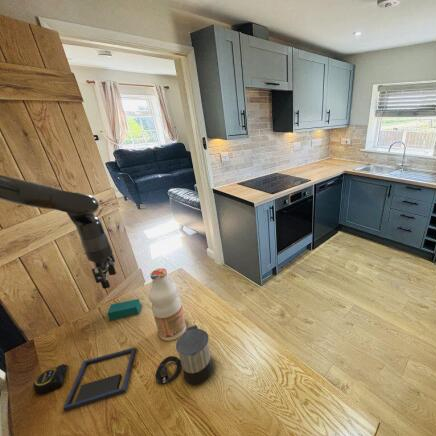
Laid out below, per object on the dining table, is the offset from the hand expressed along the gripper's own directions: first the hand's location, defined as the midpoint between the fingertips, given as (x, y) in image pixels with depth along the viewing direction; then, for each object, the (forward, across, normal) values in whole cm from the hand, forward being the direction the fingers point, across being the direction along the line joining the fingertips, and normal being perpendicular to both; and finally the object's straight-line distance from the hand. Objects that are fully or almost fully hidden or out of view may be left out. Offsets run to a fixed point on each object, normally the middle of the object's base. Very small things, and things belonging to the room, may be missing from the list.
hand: (110, 280), depth 94 cm
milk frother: (+16, +38, +26) cm, 49 cm away
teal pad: (+16, +3, +2) cm, 16 cm away
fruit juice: (+16, +19, +21) cm, 33 cm away
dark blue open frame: (+16, +31, +2) cm, 35 cm away
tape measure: (+16, +27, -12) cm, 33 cm away
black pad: (+16, +35, +2) cm, 38 cm away
